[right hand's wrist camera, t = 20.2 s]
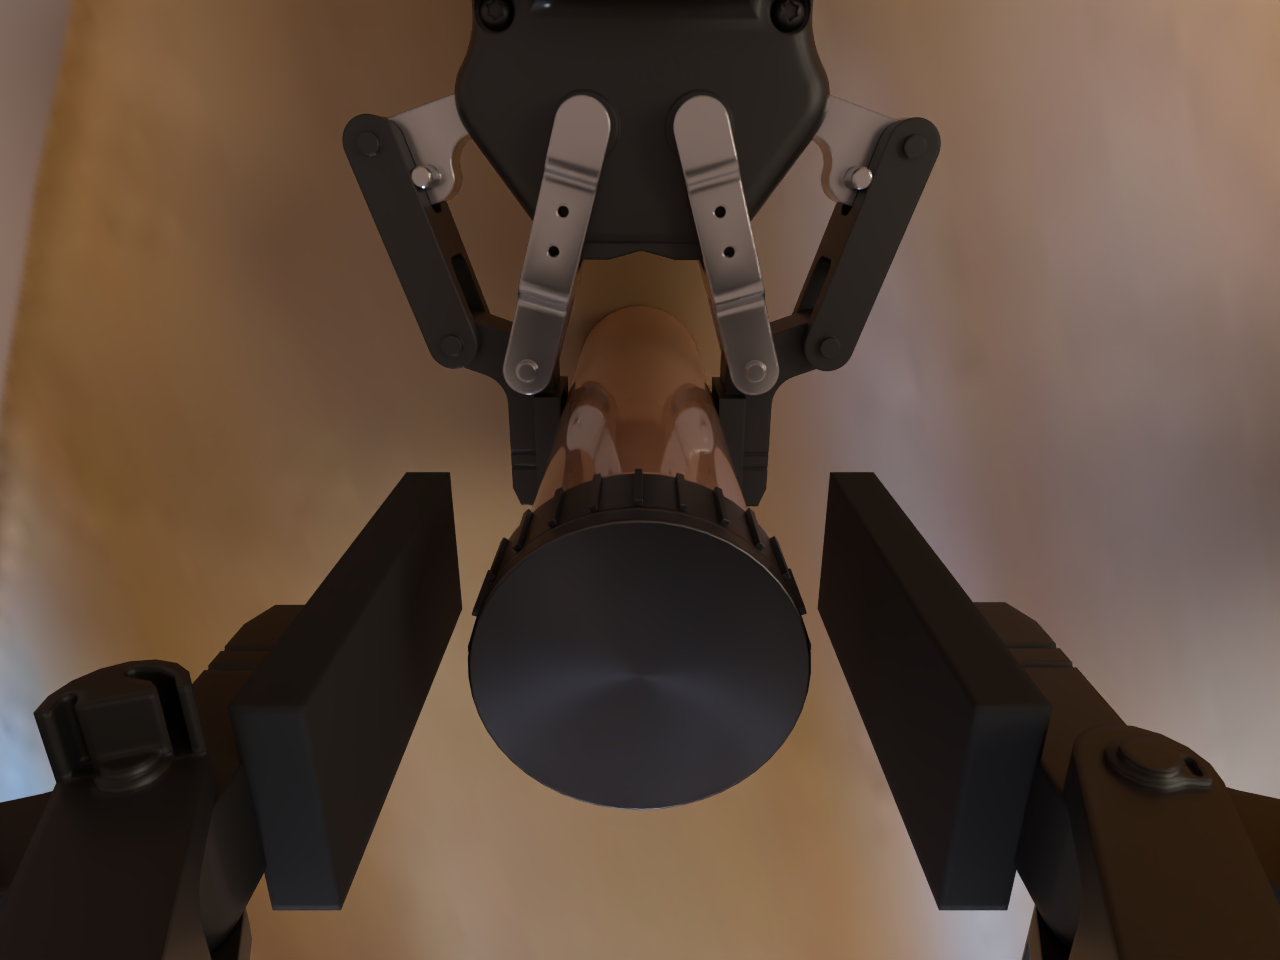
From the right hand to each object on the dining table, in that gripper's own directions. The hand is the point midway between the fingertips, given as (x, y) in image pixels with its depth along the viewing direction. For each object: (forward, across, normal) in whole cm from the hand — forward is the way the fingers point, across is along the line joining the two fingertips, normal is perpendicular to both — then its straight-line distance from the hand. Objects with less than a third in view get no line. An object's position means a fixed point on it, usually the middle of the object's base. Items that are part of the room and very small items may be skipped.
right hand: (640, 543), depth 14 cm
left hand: (+8, 0, -3) cm, 8 cm away
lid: (-4, 0, 0) cm, 4 cm away
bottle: (+14, 0, 0) cm, 14 cm away
